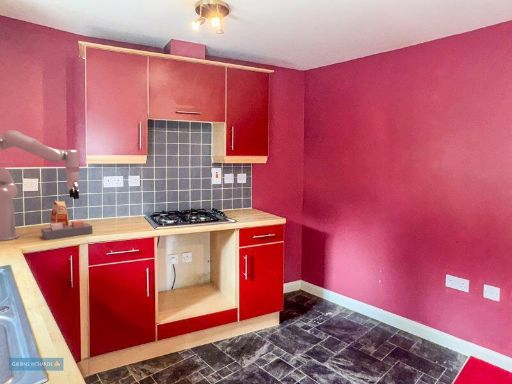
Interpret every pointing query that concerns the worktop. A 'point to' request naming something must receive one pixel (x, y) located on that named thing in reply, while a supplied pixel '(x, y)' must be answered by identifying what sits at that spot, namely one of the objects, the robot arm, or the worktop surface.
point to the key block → (66, 232)
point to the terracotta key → (77, 223)
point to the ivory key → (56, 226)
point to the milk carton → (59, 213)
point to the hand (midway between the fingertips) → (74, 198)
